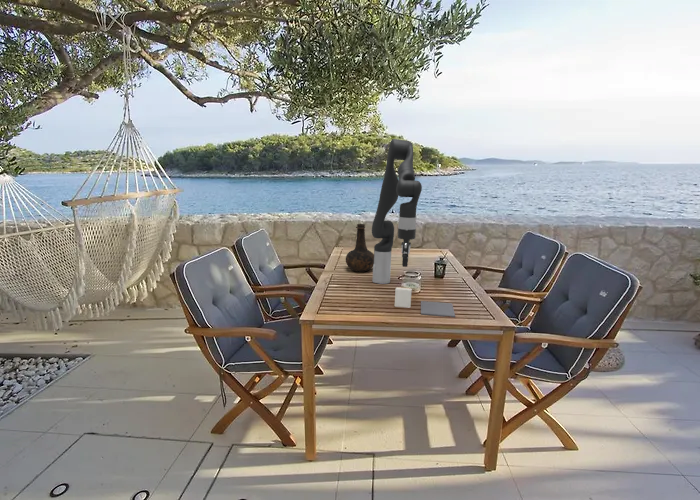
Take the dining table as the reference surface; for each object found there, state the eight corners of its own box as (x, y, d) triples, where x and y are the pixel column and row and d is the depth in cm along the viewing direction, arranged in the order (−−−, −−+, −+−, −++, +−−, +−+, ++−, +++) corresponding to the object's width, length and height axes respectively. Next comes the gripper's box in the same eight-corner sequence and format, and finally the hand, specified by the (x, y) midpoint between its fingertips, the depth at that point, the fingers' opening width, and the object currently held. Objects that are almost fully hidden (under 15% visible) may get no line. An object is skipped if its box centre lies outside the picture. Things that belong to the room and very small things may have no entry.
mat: (420, 314, 164) (420, 313, 163) (420, 302, 179) (420, 300, 179) (455, 317, 161) (455, 315, 161) (452, 304, 177) (452, 303, 177)
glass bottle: (376, 267, 241) (378, 222, 236) (373, 274, 224) (375, 226, 219) (348, 265, 244) (349, 221, 239) (342, 272, 227) (343, 225, 221)
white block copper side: (394, 306, 173) (395, 289, 171) (395, 303, 176) (395, 287, 174) (410, 307, 171) (411, 290, 170) (410, 305, 175) (411, 288, 173)
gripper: (399, 225, 174) (397, 260, 177) (397, 229, 160) (395, 267, 164) (416, 225, 173) (414, 261, 176) (415, 230, 159) (413, 268, 162)
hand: (405, 264), depth 170 cm, fingers open, 8 cm apart
